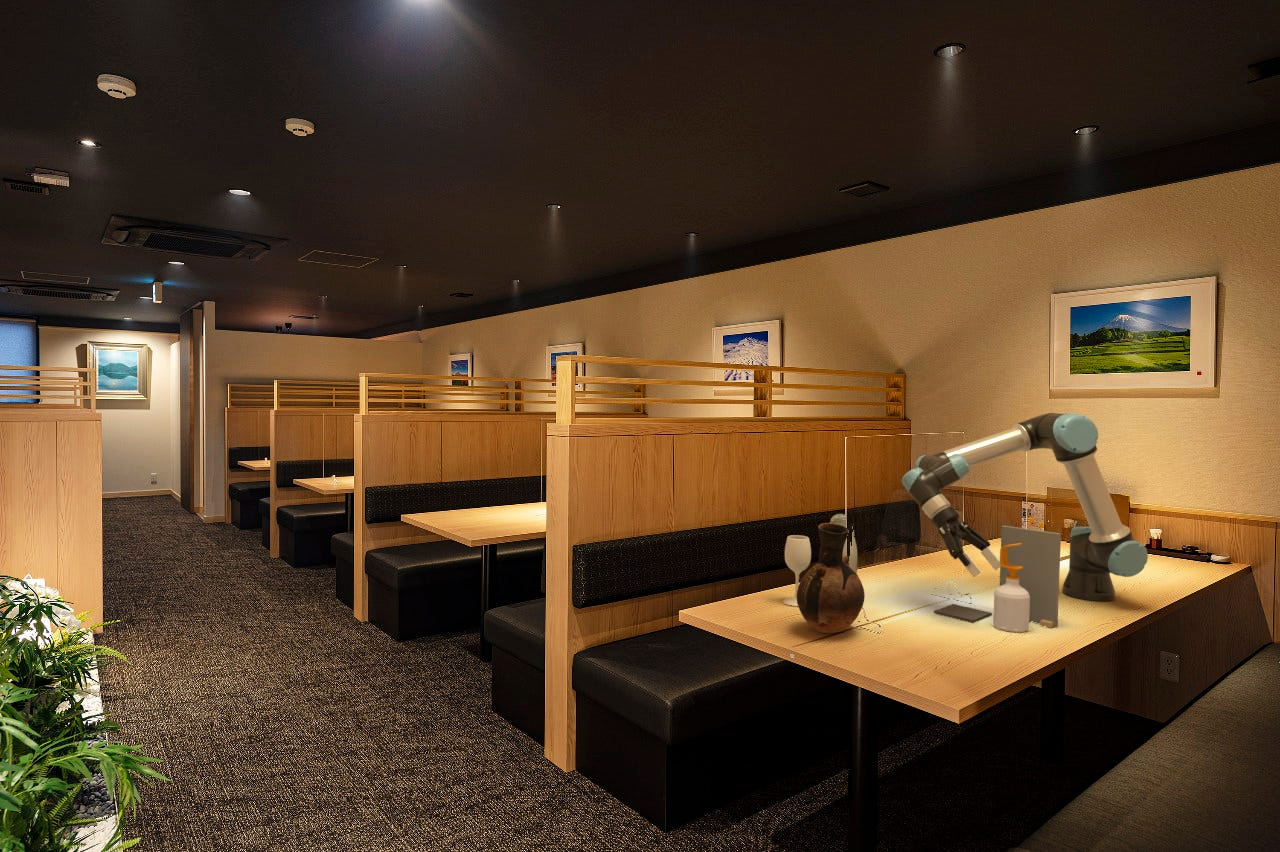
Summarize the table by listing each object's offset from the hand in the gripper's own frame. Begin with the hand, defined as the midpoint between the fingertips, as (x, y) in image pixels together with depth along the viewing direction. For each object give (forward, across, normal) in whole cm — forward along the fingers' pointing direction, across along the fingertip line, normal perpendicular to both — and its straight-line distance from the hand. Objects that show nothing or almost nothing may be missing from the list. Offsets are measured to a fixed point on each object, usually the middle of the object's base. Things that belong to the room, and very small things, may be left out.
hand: (988, 571), depth 216 cm
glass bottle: (-18, +14, -40) cm, 46 cm away
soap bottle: (+16, -1, -6) cm, 17 cm away
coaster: (+5, -3, -17) cm, 18 cm away
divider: (+15, -12, -6) cm, 20 cm away
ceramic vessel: (-6, +42, -28) cm, 51 cm away
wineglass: (-22, +28, -45) cm, 57 cm away
